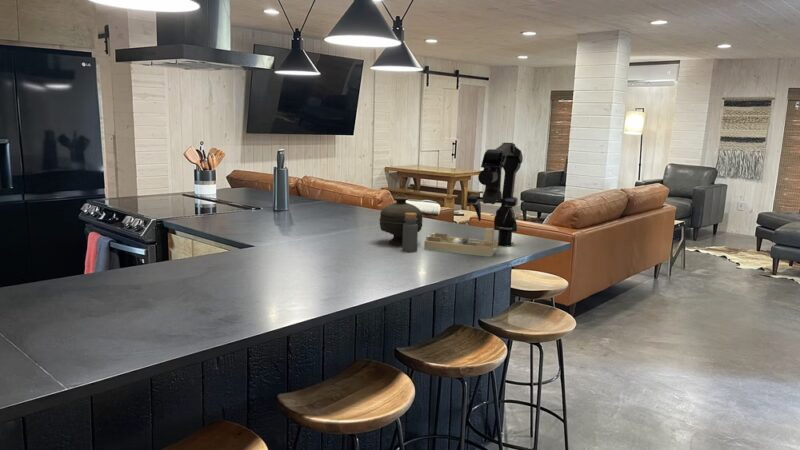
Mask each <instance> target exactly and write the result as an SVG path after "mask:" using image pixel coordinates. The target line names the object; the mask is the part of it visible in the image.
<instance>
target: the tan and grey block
mask: <svg viewBox="0 0 800 450" xmlns="http://www.w3.org/2000/svg"><path fill="white" fill-rule="evenodd" d="M483 235H484V237H483V238H484V239H483V240H484V243H483V242H473V241H468V239H469V236H467V235H466V236H465V235H464V237H462V238H463V240H462V245H472V246H476V244H482V245H492V247H491V248H492V250H493V241H494V239H495V229H494V227H485V229H484V233H483Z"/></svg>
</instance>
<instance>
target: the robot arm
mask: <svg viewBox="0 0 800 450" xmlns="http://www.w3.org/2000/svg"><path fill="white" fill-rule="evenodd" d="M522 163H523V153H522V150H521V149H520V148H518V147H517V146H516V143H513V142H502V143H501V145H499V146H497V147H496V148H490V149H487V150H486V151H485V152H484V154H483V158H482V162H481V165H480V167H481V168H483V170H481V171H480V172H479V173H478V177H477V179H478V182H479V183H480V184H481V185H483V186H485V189H484V191H483V193H482V196H481V194H473V193H472V194H470V195H468V196H467V204H470V206H473V208H474V210H475V213H476V215H477V218H478V219H477V220H478V222H481V219H482V210H481V209H482V208H481V207H482V206H481V205H482V203H483V204H489V205H490V204H491V205H495V204H500V207H499V208H498V209H496V211H495V216H494V219H493V226H494V227H493V228H494V231H498V234H497V235H498V236H497V242H498V246H507V247H512V245H514V242H512V241H513V240H512V239H513V238H512V237H513V233H514V232H518V230H517V229H518V225H517V220H516V219H517V218H516V217H515V216H516V213H515V211H514V209H513V208H514V207H516V206H517V205H518V201H519V200H518V198H517V197H515V196H514V192H515V185H516V184H515V183H516V175H517V173H518V171H519V170H520V169H521V166H522ZM502 169H503V171H504V177H503V184H501V183H502ZM501 185H502V190H501Z"/></svg>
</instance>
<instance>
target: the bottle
mask: <svg viewBox="0 0 800 450" xmlns="http://www.w3.org/2000/svg"><path fill="white" fill-rule="evenodd" d="M416 216H417V214H416V213H405V218H404V220H405V221H406V223H404V224H403V242H402V246H401V248H402V249H401V250H402V252H403V253H416V252H418V251H417V250H418V237H419V236H418V233H419V232H418V225H417V224H416V221H417V218H416Z"/></svg>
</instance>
